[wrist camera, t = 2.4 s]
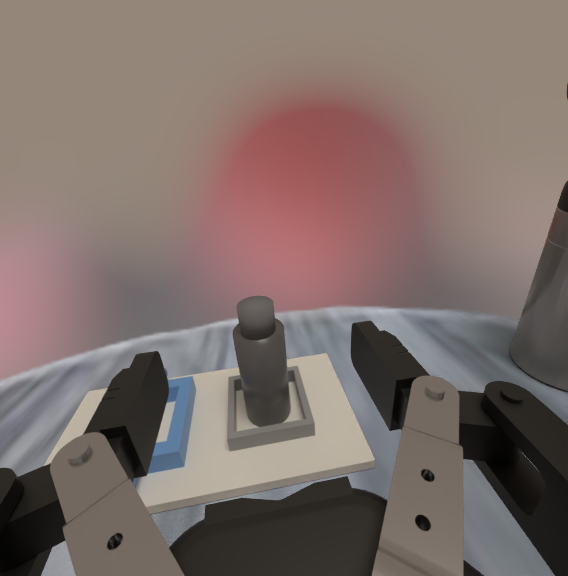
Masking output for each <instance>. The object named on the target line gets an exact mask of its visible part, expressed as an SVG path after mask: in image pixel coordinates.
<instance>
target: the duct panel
mask: <svg viewBox="0 0 568 576" xmlns="http://www.w3.org/2000/svg"><path fill="white" fill-rule="evenodd" d="M164 370H165V373H166V376H167V371H166V368H165V369H164ZM287 370H288V381H289V393H290V404H291V411H290V414H289V416H288V418H287V419H286V420H285V421H284V422H283V423H280V424H274V425H269V426H264V427H258V426H256V425H254V424H253V423H251V422H250V420H249V419H248V416H247V411H246V406H245V400H244V395H243V389H242V384H241V378H240V373H239V367H237V368H231V369H225V370H219V371H212V372H206V373H200V374H194V375H188V376H181V377H175V378H169V379H168V384H169V395H168V400H167V403H166V407H165V411H164V414H163V418H162V422H161V426H160V429H159V433H158V437H157V440H156V444H155V448H154V452H153V455H152V459H151V463H150V466H149V470H148V474H147V476H144V477H139V478H134V481H133V485H134V487H135V488H136V490H137V492H138V494H139V496H140V497H141V499H142V501H143V503H144V504H145V506H146V508H147V510H148V512H149V513H150V514H153V513H158V512H163V511H168V510H173V509H178V508H182V507H187V506H192V505H197V504H202V503H207V502H212V501H216V500H221V499H226V498H231V497H236V496H241V495H245V494H250V493H255V492H260V491H265V490H270V489H274V488H279V487H284V486H289V485H294V484H299V483H303V482H308V481H313V480H318V479H323V478H328V477H332V476H337V475H342V474H347V473H352V472H357V471H361V470H366V469H371V468H374V465H375V459H374V457H373V455H372V452H371V450H370V448H369V446H368V444H367V441H366V439H365V437H364V435H363V433H362V430H361V428H360V426H359V424H358V422H357V419H356V417H355V415H354V413H353V411H352V408H351V406H350V404H349V402H348V400H347V397H346V395H345V393H344V391H343V388H342V386H341V384H340V382H339V380H338V377H337V375H336V373H335V371H334V369H333V366H332V364H331V362H330V360H329V358H328V355H327V353H325V354H319V355H312V356H306V357H300V358H294V359H287ZM107 389H108V388H106V389H100V390H94V391H88V393H87V394H86V396H85V398H84V399H83V401H82V403H81V404H80V406H79V408H78V409H77V411H76V413H75V414H74V416H73V418H72V419H71V421H70V423H69V424H68V426H67V428H66V429H65V431H64V433H63V434H62V436H61V438H60V439H59V441H58V443H57V444H56V446H55V448H54V449H53V451H52V453H51V454H50V456H49V458H48V459H47V461H46V463H45V464H44V466H45V465H48V464H50V463H51V462H52V460H53V458H54V456H55V455H56V454H57V452H58V451H59V450H60V449H61V448H62V447H63V446H64V445H66V444H67V443H68V442H70V441H71V440H73V439H75V438H77V437H79V436H81V435H83V433H84V431H85V430H86V428H87V426H88V424H89V422H90V420H91V418H92V417H93V415H94V413H95V411H96V409H97V407H98V405H99V403H100V402H101V401H102V398H103V396H104V394H105V392H107Z"/></svg>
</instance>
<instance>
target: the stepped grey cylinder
mask: <svg viewBox="0 0 568 576" xmlns="http://www.w3.org/2000/svg"><path fill="white" fill-rule="evenodd" d="M237 312H238V319H239V324H238V325H237V326H236V327H235V328H234V330H233V339H234V345H235V350H236V356H237V361H238V367H239V373H240V378H241V384H242V389H243V395H244V400H245V406H246V411H247V416H248V419H249V420H250V422H251V423H253V424H254V425H256V426H258V427H264V426H269V425H274V424H280V423H283V422H284V421H285V420H286V419H287V418H288V416H289V414H290V411H291V404H290V393H289V381H288V370H287V358H286V347H285V335H284V326H283V324H282V323H281V322H280V321H279V320H278V319H275V316H274V307H273V301H272V300H271V299H270V298H268V297H265V296H252V297H248V298H245V299H243V300H242V301H240V302H239V303H238V304H237Z"/></svg>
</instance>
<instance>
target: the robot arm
mask: <svg viewBox="0 0 568 576" xmlns="http://www.w3.org/2000/svg"><path fill="white" fill-rule="evenodd" d="M567 98H568V85H567ZM510 355H511V357H512V359H513V361H514V362H515V363H516V364H517V365H518V366H519V367H520V368H521V369H523V370H524V371H525V372H527V373H528V374H530V375H531V376H533V377H534V378H536V379H538V380H540V381H542V382H544V383H547V384H549V385H551V386H554V387H557V388H560V389H563V390H566V391H568V181H567V182H566V184H565V185H564V188H563V190H562V193H561V196H560V199H559V202H558V205H557V208H556V211H555V214H554V217H553V220H552V223H551V226H550V229H549V232H548V236H547V239H546V242H545V245H544V248H543V251H542V254H541V257H540V260H539V263H538V266H537V269H536V272H535V275H534V279H533V281H532V285H531V288H530V290H529V294H528V296H527V300H526V303H525V306H524V309H523V312H522V315H521V318H520V321H519V323H518V326H517V329H516V332H515V336H514V339H513V342H512V345H511V348H510ZM351 359H352V363H353V366H354V368H355V370H356V371H357V373H358V375H359V377H360V378H361V380H362V382H363V384H364V386H365V387H366V389H367V391H368V393H369V394H370V396H371V398H372V400H373V402H374V403H375V405H376V407H377V409H378V410H379V412H380V414H381V416H382V418H383V419H384V421H385V423H386V425H387V427H388V428H389V430H390V431H392V430H397V429H401V430H402V433H401V438H400V443H399V448H398V452H397V457H396V462H395V467H394V472H393V477H392V482H391V487H390V492H389V497H388V501H387V500H386V499H384V498H382V497H380V496H378V495H376V494H374V493H371V492H368V491H365V490H361V489H356V488H351V485H350V482H349V479H348V477H347V476H346V477H341V478H336V479H332V480H327V481H322V482H317V483H313V484H311V485H309V486H307V487H305V488H304V489H302V490H300V491H298V492H296V493H294V494H292V495H290V496H288V497H286V498H284V499H282V500H263V499H250V498H239V499H234V500H229V501H224V502H219V503H214V504H210V505H206V506H205V519H203V520H202V521H200V522H198V523H196V524H195V525H193V526H192V527H190V528H189V529H188V530H187V531H185V532H184V533H183V534H182V535H181V536H180V537H179V538H178V539H177V540H176V541H175V542H174V543H173V544H172V545H171V546H170V547H168V545H167V544H166V542H165V540H164V538H163V537H162V535H161V533H160V531H159V529H158V528H157V526H156V524H155V522H154V520H153V519H152V517H151V515H150V513H149V512H148V510H147V508H146V506H145V504H144V503H143V501H142V499H141V497H140V496H139V494H138V492H137V490H136V488H135V487H134V485H133V481H134V478H139V477H144V476H147V474H148V470H149V466H150V463H151V459H152V455H153V452H154V448H155V444H156V440H157V437H158V433H159V429H160V426H161V422H162V418H163V414H164V411H165V407H166V403H167V400H168V395H169V384H168V379H167V376H166V373H165V370H164V366H163V363H162V360H161V357H160V354H159V352H158V351H154V352H147V353H140V354H137V355H136V356H135V358H134V360H133V362H132V364H131V366H130V368H126V369H123V370H122V371H121V372H120V373H118V374H117V375H116V376H115V377H114V378H113V379H112V381H111V383H110V385H109V387H108V389H107V392H105V394H104V396H103V398H102V401H101V402H100V403H99V405H98V407H97V409H96V411H95V413H94V415H93V417H92V418H91V420H90V422H89V424H88V426H87V428H86V430H85V431H84V433H83V435H81V436H79V437H77V438H75V439H73V440H71V441H70V442H68V443H67V444H66V445H64V446H63V447H62V448H61V449H60V450H59V451H58V452H57V454H56V455H55V456H54V458H53V460H52V462H51V463H50V464H48V465H45V466H43V467H40V468H38V469H36V470H33V471H31V472H29V473H26V474H24V475H21V476H19V477H17V476H16V474H15V473H14V472H13V470H11V469H9V468H0V576H41V574H42V571H43V569H44V566H45V564H46V562H47V559H48V557H49V554H50V552H51V549H52V547H54V546H55V545H57V544H59V543H61V542H63V541H65V540H66V543H67V547H68V550H69V554H70V557H71V561H72V564H73V567H74V571H75V574H76V576H484V575H483V574H481V573H480V572H479V571H477V570H476V569H475V568H474V567H472V566H471V565H470V564H469V563H467V562H466V561H465V560H463V459H469V460H473V461H474V462H475V463H476V465H477V466H478V468H479V469H480V470H481V472H482V473H483V475H484V476H485V478H486V479H487V480H488V482H489V483H490V485H491V486H492V487H493V489H494V490H495V492H496V493H497V494H498V496H499V497H500V499H501V500H502V501H503V503H504V504H505V506H506V507H507V508H508V510H509V511H510V513H511V514H512V516H513V517H514V518H515V520H516V521H517V523H518V524H519V525H520V527H521V528H522V530H523V531H524V532H525V534H526V535H527V537H528V538H529V539H530V541H531V542H532V544H533V545H534V546H535V548H536V549H537V551H538V552H539V553H540V555H541V556H542V558H543V559H544V561H545V562H546V563H547V565H548V566H549V568H550V569H551V570H552V572H553V573H554V575H555V576H568V425H567V424H566V423H565V422H564V421H562V420H561V419H560V418H559V417H558V416H557V415H556V414H554V413H553V412H552V411H551V410H550V409H549V408H548V407H546V406H545V405H544V404H543V403H542V402H541V401H539V400H538V399H537V398H536V397H535V396H534V395H533V394H531V393H530V392H529V391H527V390H526V389H524V388H522V387H520V386H518V385H515V384H512V383H509V382H503V381H494V382H490V383H488V384H487V385H486V387H485V390H484V393H477V392H465V391H457V390H456V388H455V387H454V386H453V385H452V384H450V383H449V382H447V381H446V380H444V379H441V378H438V377H435V376H430V375H429V374H428V373H427V372H426V371H425V369H424V368H423V367H422V366H421V365H420V364H419V363H418V362H417V360H416V359H415V358H414V357H413V356H412V355H411V354H410V353H409V352H408V350H407V349H406V348H405V347H404V346H403V345H402V343H401V342H400V341H399V340H398V339H397V338H396V337H395V336H394V335H392V334H390V333H388V332H387V331H385V330H384V331H379V330H378V328H377V327H376V326H375V325H374V323H373V322H372V321H364V322H357V323H353V324H352V332H351ZM522 452H523V453H524V455H525V456H526V457H527V458H528V459H529V460H530V461H531V462H532V463H533V465H534V466H535V467H536V468H537V469H538V470H539V471H538V470H537V469H536V468H535V467H534V466H533V465H532V464H531V462H530V461H529V460H528V459H527V458H526V457H525V456H524V455H523V453H522ZM540 473H541V474H540Z"/></svg>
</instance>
